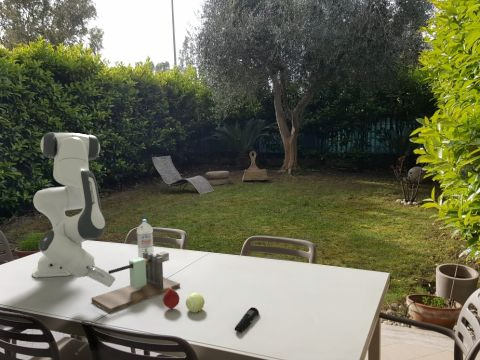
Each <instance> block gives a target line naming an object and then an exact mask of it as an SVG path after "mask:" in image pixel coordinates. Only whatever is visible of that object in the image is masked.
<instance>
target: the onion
mask: <svg viewBox="0 0 480 360" xmlns="http://www.w3.org/2000/svg"><path fill="white" fill-rule="evenodd" d="M180 299H181V298H180V295H179V293H178V292H177V290H176V289H172V288H171V287H170V288H169V290H168V291H167V292H165V293H163V297H162V303H163V304H164V306H165V307H166V308H167V309H169V310H174V308H176V307H177V306H178V305H179V303H180Z"/></svg>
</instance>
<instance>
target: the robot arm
mask: <svg viewBox="0 0 480 360" xmlns="http://www.w3.org/2000/svg"><path fill="white" fill-rule="evenodd" d="M40 149H41V152H42V155H43V156H44V157H45V158H48V159H52V160H53V159H54V160H53V170H52V171H53V173H52V174H53V176H52V177H53V178H54V180H55V181H56V182H57V183H59V184H60V185H63V186H56V187H48V188H44V189H41V190H37V192H36V193H35V194H34V196H33V200H32V202H33V205H34V208H35V209H36V210H37V211H38V212H39V213H41V214H43V215H44V216H46V217H47V218H48V220H49V221H50V224H51V225H52V229H49V230H47V231H45V232H44V233H43V235H42V236H41V237H40V238H39V243H38V249H39V250H40V253H42V255H41V257H40V258H39V259H38V261H37V267H35V268H34V269H33V270H32V272H31V273H32V274H31V276H32V277H33V278H47V277H50V278H51V277H66V276H67V277H68V276H71V275H72V276H73V277H75V278H79V279H80V278H82V277H83V278H85V277H88V278H89V279H91V280H93V281H96V282H98V283H100V284H102V285H104V286H106V287H108V288H111V286H112V285H113V284H114V282H115V281H116V277H115V276H113V275H112V273H111V274H109V273H108V272H107V271H106V270H104V269H103V268H101V267H99V266H97V265H96V264H95V263H96V262H95V257H94V255H92V254H91V253H90V252H88V251H87V250H86V249H84V248H83V243H85V242H87V241H90V240H91V241H92V240H95V239H99V238H101V237H102V236H103V235H104V233H105V230H106V225H107V223H106V219H105V216H104V213H103V211H102V205H101V199H100V194H99V193H100V192H99V189H98V188H99V187H98V183H97V180H96V177H95V174H94V173H93V172H92V171H90V167H89V161H94V160H95V159H97V158H98V156H99V154H100V150H101V145H100V140H99V138H97V136H95V135H92V134H82V133H78V132H77V133H75V132H54V131H53V132H52V131H51V132H50V131H49V132H46V133H45V134H43V136H42V138H41V141H40ZM72 210H73V211H74V210H81V211H80V212H79V213H77V214H75V215H73V216H67V215H66V211H72Z"/></svg>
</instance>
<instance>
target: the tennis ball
mask: <svg viewBox="0 0 480 360" xmlns="http://www.w3.org/2000/svg"><path fill="white" fill-rule="evenodd" d="M185 306H186V308H187V310H188V311H190V312H191V313H194V312H195V313H198V311H199V312H200V311H201V310H203V308H204V306H205V298H204V297H203V296H202V295H201V294H200V293H198V292H193V293H190V294H189V295H188V296H187V297H186V300H185Z"/></svg>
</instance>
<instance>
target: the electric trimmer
mask: <svg viewBox="0 0 480 360" xmlns="http://www.w3.org/2000/svg"><path fill="white" fill-rule="evenodd" d="M259 315H260V311H259V310H258V308H256V307H249V309H248V310H247V311H246V312H245V314H244V315H243V316H242V318H241V319H240V320H239V322H238V323H237V324H236V325H235V327H234V331H236V332H239V331H240V332H239V333H241V332H243V331H244V330H245V328H246V329H247V328H248V327H250V325H251V323H252V320H253V319H254V318H256V316H259Z"/></svg>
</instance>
